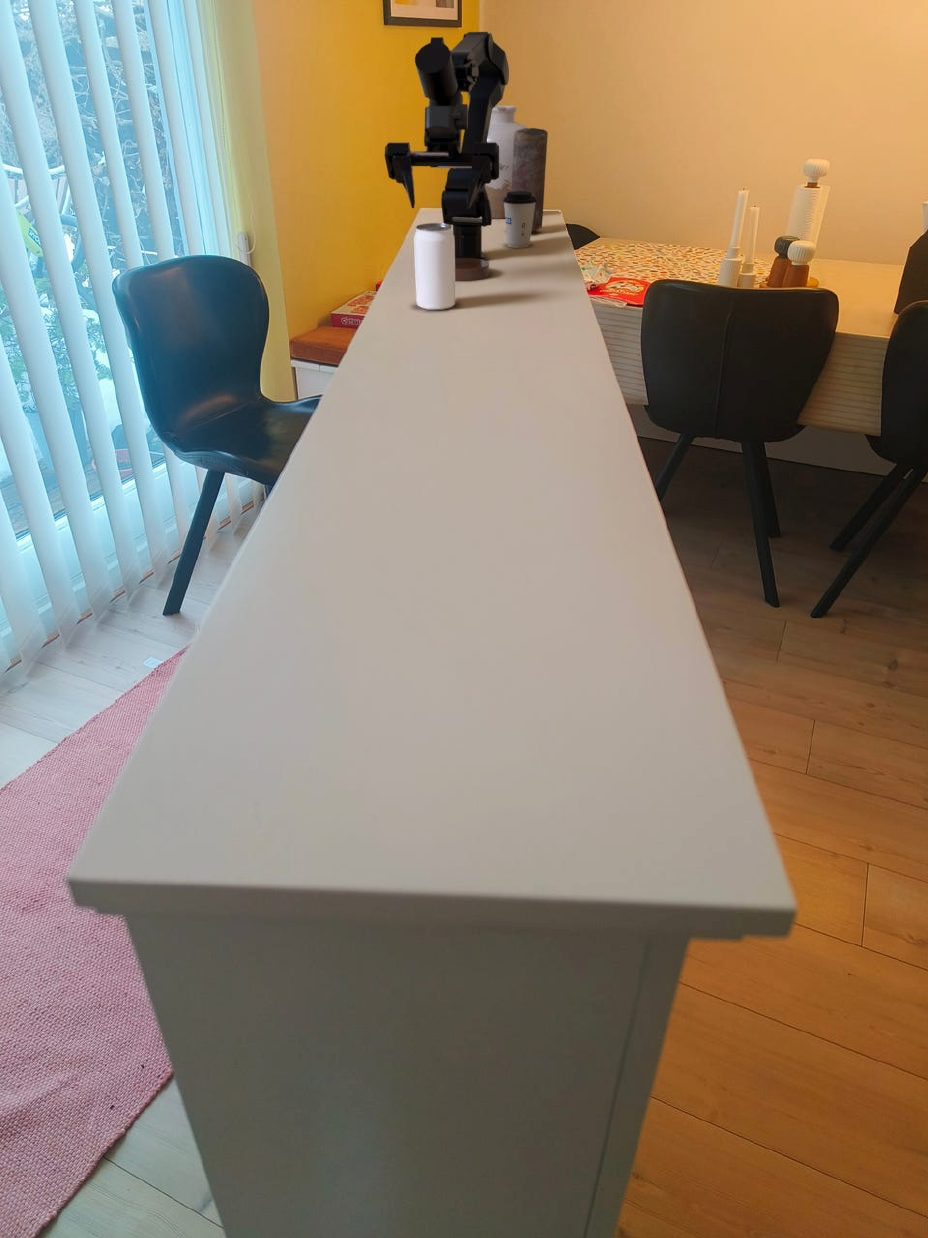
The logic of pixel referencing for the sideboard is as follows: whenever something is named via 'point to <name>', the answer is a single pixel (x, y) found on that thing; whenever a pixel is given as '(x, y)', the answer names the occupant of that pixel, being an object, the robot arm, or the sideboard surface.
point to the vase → (502, 156)
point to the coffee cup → (519, 217)
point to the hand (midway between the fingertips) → (440, 206)
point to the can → (434, 266)
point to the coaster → (471, 269)
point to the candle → (530, 167)
